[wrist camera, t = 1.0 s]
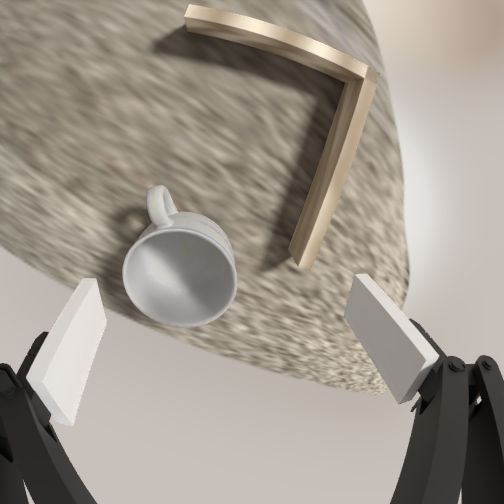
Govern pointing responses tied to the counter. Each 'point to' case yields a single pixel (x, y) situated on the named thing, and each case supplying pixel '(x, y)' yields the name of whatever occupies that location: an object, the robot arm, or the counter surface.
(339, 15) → the counter surface
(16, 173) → the counter surface
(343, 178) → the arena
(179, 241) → the teacup
